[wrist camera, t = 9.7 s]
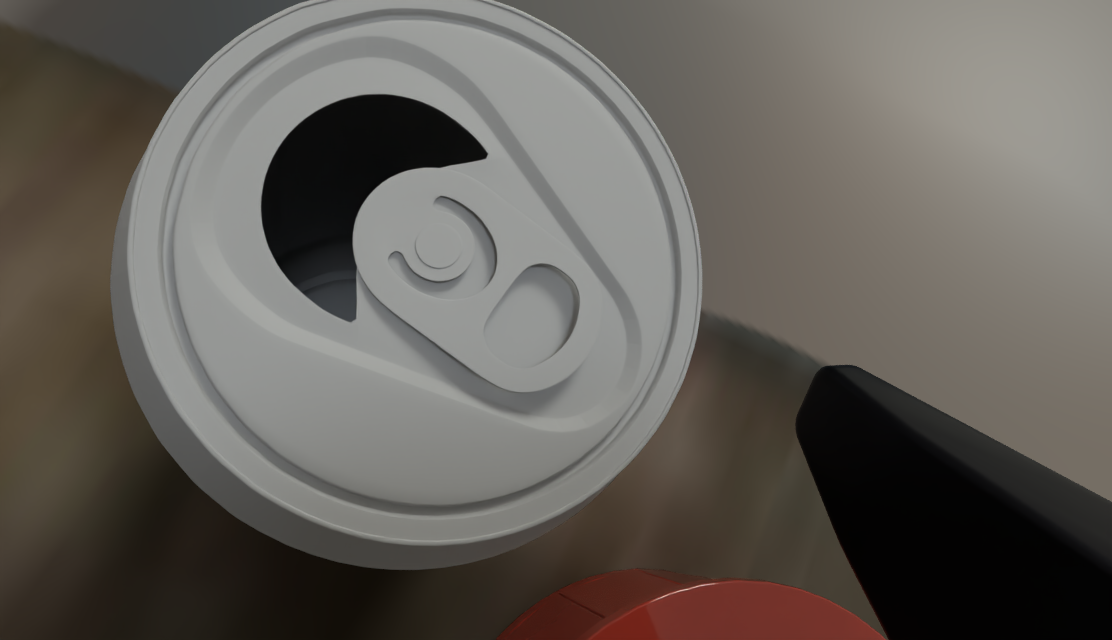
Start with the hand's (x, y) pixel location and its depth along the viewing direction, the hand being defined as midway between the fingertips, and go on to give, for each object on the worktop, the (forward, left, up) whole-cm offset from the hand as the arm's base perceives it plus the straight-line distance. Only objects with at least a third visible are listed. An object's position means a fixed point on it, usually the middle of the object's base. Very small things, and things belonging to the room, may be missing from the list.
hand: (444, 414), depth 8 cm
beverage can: (+1, +1, -11) cm, 12 cm away
